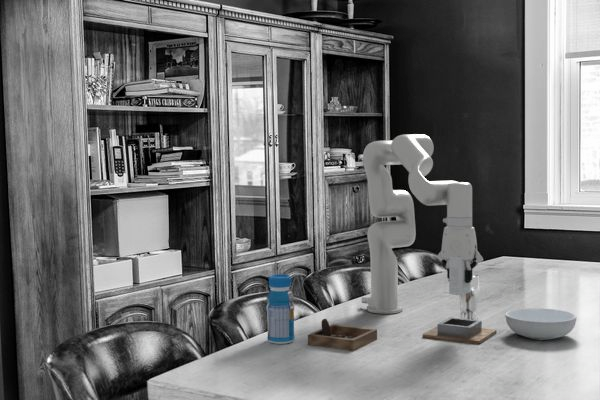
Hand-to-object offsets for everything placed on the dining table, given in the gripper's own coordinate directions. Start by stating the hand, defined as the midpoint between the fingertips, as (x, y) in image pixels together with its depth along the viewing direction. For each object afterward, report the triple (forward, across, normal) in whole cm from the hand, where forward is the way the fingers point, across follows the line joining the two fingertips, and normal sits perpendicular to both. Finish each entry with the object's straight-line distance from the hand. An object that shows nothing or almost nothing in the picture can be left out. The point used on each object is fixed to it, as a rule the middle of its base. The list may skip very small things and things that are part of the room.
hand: (459, 281), depth 252 cm
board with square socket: (+17, 0, 0) cm, 17 cm away
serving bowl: (+17, +22, +10) cm, 30 cm away
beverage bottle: (+17, -45, -32) cm, 58 cm away
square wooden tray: (+17, -28, -24) cm, 41 cm away
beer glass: (+17, -5, +22) cm, 28 cm away
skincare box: (+4, 0, 0) cm, 4 cm away
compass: (+17, -31, -24) cm, 43 cm away
